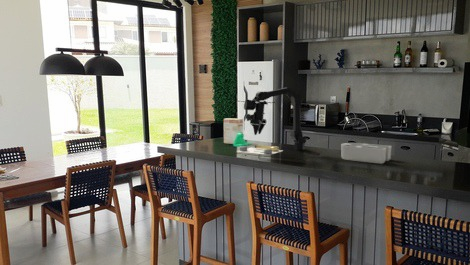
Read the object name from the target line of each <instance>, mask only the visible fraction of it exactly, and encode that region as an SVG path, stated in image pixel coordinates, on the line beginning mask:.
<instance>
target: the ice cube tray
mask: <svg viewBox="0 0 470 265" xmlns="http://www.w3.org/2000/svg"><path fill="white" fill-rule="evenodd" d="M392 147H393V146H392V145H384V144H383V145H382V144H373V143H363V142H362V143H361V142H360V143H359V142H346V143H341V144H340V150H341V151H340V152H341V154H340V157H341V159H343V160H344V161H345V160H347V161H353V162H354V161H355V162H363V163H373V164H380V165H383V164H384V163H385V162H386V161H387V162H389V161H390V160H391V158H392Z"/></svg>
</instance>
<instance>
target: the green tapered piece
mask: <svg viewBox="0 0 470 265" xmlns="http://www.w3.org/2000/svg"><path fill="white" fill-rule="evenodd" d="M244 137H245V134H244V132H243V133H237V135H236V138H235V141H234V143H233V144H232V146H233V147H237V148H238V147H239V148H240V147H241V146H249V145H252V142H247V141H245V139H244Z"/></svg>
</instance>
